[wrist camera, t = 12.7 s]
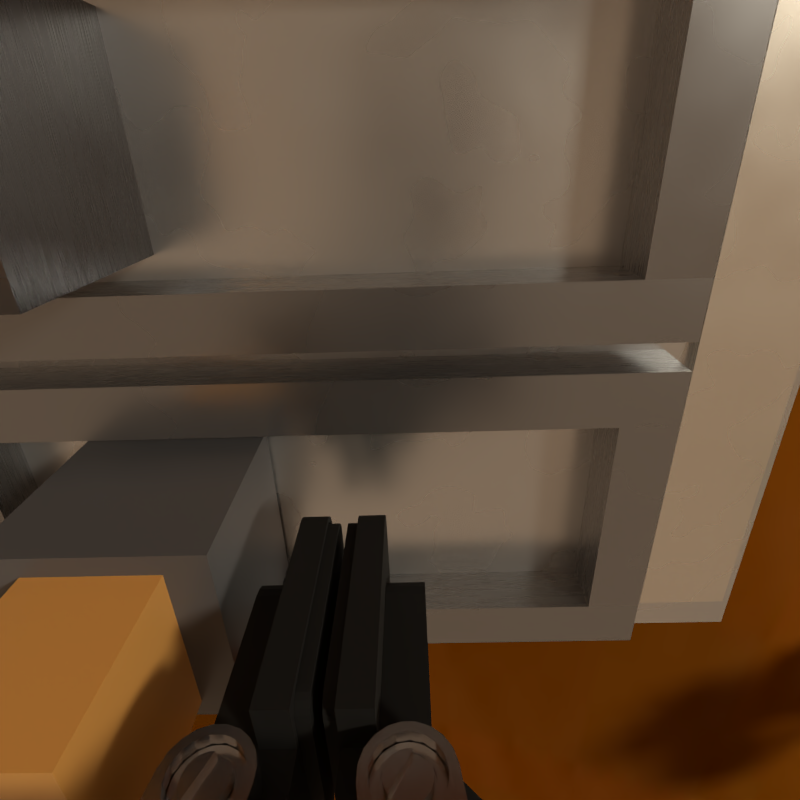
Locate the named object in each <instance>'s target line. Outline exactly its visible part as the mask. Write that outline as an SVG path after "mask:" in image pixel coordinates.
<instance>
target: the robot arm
mask: <svg viewBox="0 0 800 800" xmlns="http://www.w3.org/2000/svg"><path fill="white" fill-rule="evenodd" d="M334 794H335V799H336V800H482V799H481V798H480V797H479V796H478V795H477V794H476V793H475V792H474V791H473V790H472V789H471V788H470V787H469V786H468V785H467V784H466V783H464V782H463V778H462V773H461V769H460V765H459V762H458V759H457V756H456V754H455V751H454V749H453V747H452V746H451V744H450V743H449V742H448V740H447V739H446V738H445V737H444V735H443V734H441V733H440V732H438V731H437V730H435V729H434V728H433V727H431V705H430V683H429V661H428V639H427V617H426V595H425V582H401V583H390V569H389V553H388V537H387V522H386V515H362V516H359V517H358V523H348V527H347V534H346V540H345V547H344V543H343V534H342V526H341V524H340V523H335V524H332V520H331V517H330V516H323V517H303V518H302V520H301V523H300V526H299V530H298V534H297V537H296V541H295V544H294V548H293V552H292V555H291V559H290V563H289V566H288V570H287V574H286V577H285V581H284V584H283V585H268V586H262V587H261V588H260V589H259V591H258V594H257V596H256V599H255V602H254V605H253V608H252V611H251V614H250V617H249V620H248V623H247V626H246V629H245V633H244V636H243V639H242V642H241V645H240V648H239V651H238V654H237V657H236V660H235V663H234V666H233V669H232V672H231V675H230V678H229V681H228V684H227V687H226V690H225V694H224V697H223V700H222V703H221V706H220V709H219V712H218V715H217V718H216V721H215V724H214V725H210V726H206V727H203V728H200V729H197V730H195V731H194V732H192V733H190V734H189V735H187V736H185V737H184V738H182V739H181V740H180V741H179V742H178V743H177V744H176V745H175V746H173V747H172V748H171V749H170V750H169V751H168V752H167V754H166V755H165V757H164V758H163V760H162V761H161V763H160V764H159V765H158V767H157V768H156V770H155V772H154V774H153V776H152V778H151V780H150V782H149V783H148V785H147V787H146V789H145V791H144V793H143V795H142V797H141V798H140V800H334Z"/></svg>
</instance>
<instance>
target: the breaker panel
mask: <svg viewBox="0 0 800 800" xmlns="http://www.w3.org/2000/svg"><path fill="white" fill-rule="evenodd" d="M799 385H800V0H0V523H1V522H3V521H4V520H5V519H6V518H7V517H8V516H9V515H10V514H11V513H12V512H13V511H14V510H15V509H16V508H17V507H18V506H20V505H21V504H22V503H23V502H24V501H25V500H26V499H27V498H28V497H29V496H30V495H31V494H32V493H33V492H34V491H36V490H37V489H38V488H39V487H40V486H41V485H42V484H43V483H44V482H45V481H46V480H47V479H48V478H49V477H50V476H51V475H53V474H54V473H55V472H56V471H57V470H58V469H59V468H60V467H61V466H62V465H63V464H64V463H65V462H66V461H67V460H68V459H70V458H71V457H72V456H73V455H74V454H75V453H76V452H77V451H78V450H79V449H80V448H81V447H82V446H83V445H84V444H85V443H87V442H88V441H108V440H149V439H189V438H229V437H267V441H268V447H269V453H270V459H271V465H272V471H273V476H274V482H275V488H276V494H277V500H278V506H279V512H280V518H281V524H282V530H283V536H284V542H285V548H286V554H287V560H288V566H289V563H290V559H291V555H292V552H293V548H294V544H295V541H296V537H297V534H298V530H299V526H300V523H301V520H302V518H303V517H323V516H330V517H331V520H332V524H335V523H340V524H341V526H342V534H343V543H344V547H345V540H346V534H347V527H348V523H358V517H359V516H362V515H386V522H387V537H388V553H389V569H390V583H401V582H425V595H426V617H427V639H428V643H471V642H534V641H598V640H630V639H631V634H632V630H633V626H634V623H665V622H721V620H722V617H723V614H724V611H725V608H726V605H727V602H728V599H729V596H730V592H731V589H732V586H733V583H734V580H735V577H736V574H737V571H738V568H739V565H740V562H741V559H742V556H743V553H744V550H745V547H746V544H747V541H748V538H749V535H750V532H751V529H752V526H753V523H754V520H755V517H756V514H757V511H758V508H759V505H760V502H761V499H762V496H763V493H764V490H765V487H766V484H767V481H768V478H769V475H770V472H771V469H772V466H773V463H774V460H775V457H776V454H777V451H778V448H779V445H780V442H781V439H782V436H783V433H784V430H785V427H786V424H787V421H788V418H789V415H790V412H791V409H792V406H793V403H794V400H795V397H796V394H797V391H798V388H799ZM287 570H288V567H287ZM286 574H287V571H286ZM286 574H285V577H286ZM284 581H285V578H284ZM283 584H284V582H283Z"/></svg>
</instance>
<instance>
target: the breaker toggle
mask: <svg viewBox="0 0 800 800" xmlns="http://www.w3.org/2000/svg"><path fill="white" fill-rule="evenodd" d="M287 567H288V560H287V554H286V548H285V542H284V536H283V530H282V524H281V518H280V512H279V506H278V500H277V494H276V488H275V482H274V476H273V471H272V465H271V459H270V453H269V447H268V441H267V437H229V438H189V439H149V440H108V441H88V442H87V443H85V444H84V445H83V446H82V447H81V448H80V449H79V450H78V451H77V452H76V453H75V454H74V455H73V456H72V457H71V458H70V459H68V460H67V461H66V462H65V463H64V464H63V465H62V466H61V467H60V468H59V469H58V470H57V471H56V472H55V473H54V474H53V475H51V476H50V477H49V478H48V479H47V480H46V481H45V482H44V483H43V484H42V485H41V486H40V487H39V488H38V489H37V490H36V491H34V492H33V493H32V494H31V495H30V496H29V497H28V498H27V499H26V500H25V501H24V502H23V503H22V504H21V505H20V506H18V507H17V508H16V509H15V510H14V511H13V512H12V513H11V514H10V515H9V516H8V517H7V518H6V519H5V520H4V521H3V522H1V523H0V800H140V798H141V797H142V795H143V793H144V791H145V789H146V787H147V785H148V783H149V782H150V780H151V778H152V776H153V774H154V772H155V770H156V768H157V767H158V765H159V764H160V763H161V761H162V760H163V758H164V757H165V755H166V754H167V752H168V751H169V750H170V749H171V748H172V747H173V746H175V745H176V744H177V743H178V742H179V741H180V740H181V739H182V738H184V737H185V736H187V735H189V734H190V732H191V729H192V727H193V724H194V721H195V718H196V716H197V714H218V712H219V709H220V706H221V703H222V700H223V697H224V694H225V690H226V687H227V684H228V681H229V678H230V675H231V672H232V669H233V666H234V663H235V660H236V657H237V654H238V651H239V648H240V645H241V642H242V639H243V636H244V633H245V629H246V626H247V623H248V620H249V617H250V614H251V611H252V608H253V605H254V602H255V599H256V596H257V594H258V591H259V589H260V588H261V587H262V586H268V585H283V582H284V578H285V574H286V571H287Z"/></svg>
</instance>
